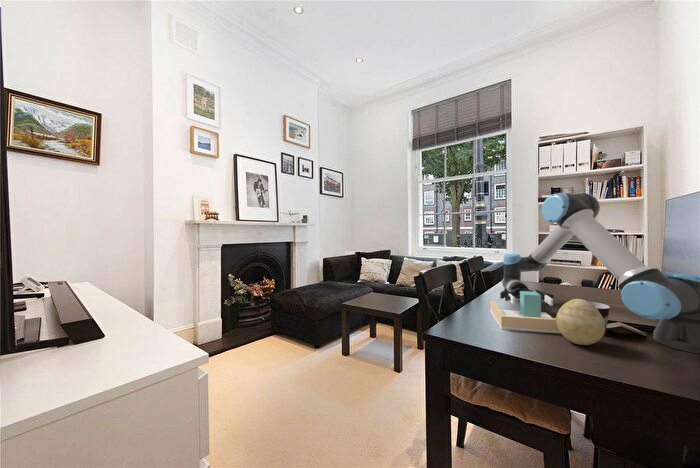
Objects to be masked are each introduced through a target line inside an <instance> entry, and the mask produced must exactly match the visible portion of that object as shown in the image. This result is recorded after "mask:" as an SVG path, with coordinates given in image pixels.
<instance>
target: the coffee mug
mask: <svg viewBox="0 0 700 468" xmlns="http://www.w3.org/2000/svg"><path fill="white" fill-rule="evenodd" d="M588 302H589V303H591V304H592V305H593V306H595V307H596V309H597V310H598V311H599V312H600V314H601V315H602V317H603V319H604V322H605V332H604V335H606V331H607V325H608V319H609V314H610V310H611V309H610V307H611V306H609V305H607V304H605V303H600V302H594V301H588ZM604 335H603V336H604Z"/></svg>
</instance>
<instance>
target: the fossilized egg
mask: <svg viewBox="0 0 700 468" xmlns="http://www.w3.org/2000/svg"><path fill="white" fill-rule="evenodd" d="M589 302H590V301H587V300H585V299H582V298H575V299H574V298H573V299H571V300H568V301H567V302H565V303H564V304H563V305H562V306H561V307H560V308H559V309H558V311H557V314H556V316H555V318H556V323H557V327H558V329H559V331H560V332H561V333H560V334H561V335H562V336H563V337H564V338H565V339H566V340H568V341H569V342H571V343H573V344H576V345H582V346H590V345H594V344H596V343H598V342H599V341H600V340H601V339H602V338H603V337H604V332H605V322H604V319H603V317H602V315H601V314H600V312H599V311H598V310H597V309H596V307H595V306H593V305H592V304H591V303H589Z"/></svg>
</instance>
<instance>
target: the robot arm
mask: <svg viewBox="0 0 700 468" xmlns="http://www.w3.org/2000/svg"><path fill="white" fill-rule="evenodd" d="M600 205H601V204H600V202H599V201H598V199H597V198H596V197H594V195H591V194H590V193H585V192H580V193H578V192H576V193H575V192H572V193H571V192H570V193H569V192H558V193H553V194H551V195H549V196H547V197H546V198H545V200H544V201H543V203H542V205H541V214H542V217H543V219H544V220H545V221H547V222H549V223H556V224H557V226H556V227H555V228H554V229H553V230H552V231H551V232H550V233H549V234H548V235H547V236H546V237H545V238H544V239H543V240H542V242H540V243H539V244H538V245H537V247H536V248H535V249H534V250H533V251H532V252H531V253H530V254H529V255H528V256H523V257H522V256H521V255H520V254H518V253H505V254H504V256H503V262H502V263H503V279H501V284H502V286H503V290H502V291H500V293H499V295H500V296H499V297H500V299H504V301H506V302H508V301H509V302H510V303H511V304H512V305H515V300H516V299H517V300H520V291H528V292H537V293H538V294H540V295H541V301H544V302H545V303H546V304H548V305H549V306H551V307H553V306H554V301H555V300H554V298H555V296H554V294H551V293H549V292H544V291H541V290H538V289H534V290H532V289H529V287H528V286H527V285H526V284H525V283H523V282H522V280H521V279H522V277H521V276H522V273H527V272H540V271H543V270H545V269H546V267H547V265H548V263H547V262H548V261H549V260H550V259H551V258H552V257H554V255H555V254H556V253H557V252H558V251H559V250H560V249H562V248H563V246H564V245H566V244H567V243H568V242H569V241H570V240H571V239H572V238H573V237H575V238H576V239H577V240H579V242H580V243H581V244H583V246H584V247H585V248H586V249H587V250H588V251H589V252H590V253H591V254H592V255H593V256H594V257H595V258H596V259H597V260H598V261H599V262H600V263H601V264H602V265H603V266H604V267H605V268H606V269H607V270H608V272H610V273H611V274H612V275H613V277H615V279H616V280H617V281H618V282H617V287H618V289H619V290H620V292H621V293H620V295H621V296H622V297H621V300H622V303H623V304H624V306H625V307H626V308H627V309H628V310H629V311H630V312H632V313H633V314H635V315H637V316H638V317H641V318H644V319H647V320H648V319H649V320H659V321H658V323H657V325H655V328H654V330H653V337H652V338H653V340H654V341H656V342H658V343H660V345H663V346H666V347H668V348H672V349H675V350H680V351H684V352H688V353H693V354H699V355H700V275H696V274H688V273H678V272H672V271H671V272H669V271H666V272H665V271H664V272H662V271H660V269H659V268H657V267H652V266H651V267H650V266H647V265H646V264H645V263H644V262H642V260H640V259H639V257H637V256H636V255H635V254H634V253H633V252H632V251H631V250H630V249H629V248H627V247H626V246H625V245H624V244H623V243H622V242H620V240H619V239H618V238H616V236H614V235H613V234H612V233H611V232H610V231H609V230H608V229H606V227H604V225H602V224H601V223H600V222H599V221H598V220H597V216H598V215H599V213H600V211H601V206H600Z"/></svg>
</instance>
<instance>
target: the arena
mask: <svg viewBox="0 0 700 468" xmlns="http://www.w3.org/2000/svg"><path fill="white" fill-rule="evenodd" d="M489 303H490V313H491V315H492V316H493V318H494V320H495V321H496V322H497V324H498V326H499V327H500V329H501V330H504V331H505V330H506V331H519V332H533V333H534V332H535V333H537V332H538V333H550V334H561V332H560V331H559V329H558V327H557V323H556V317H552V316H551V315H550V314H548V312H546V311H544V312H543V311H541V318H539V317H523V316H521V315H520V310H510V309H509V310H508V309H501V308H500V307H499V305H498V304H497V303H496V301H495V300H490V302H489Z"/></svg>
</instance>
